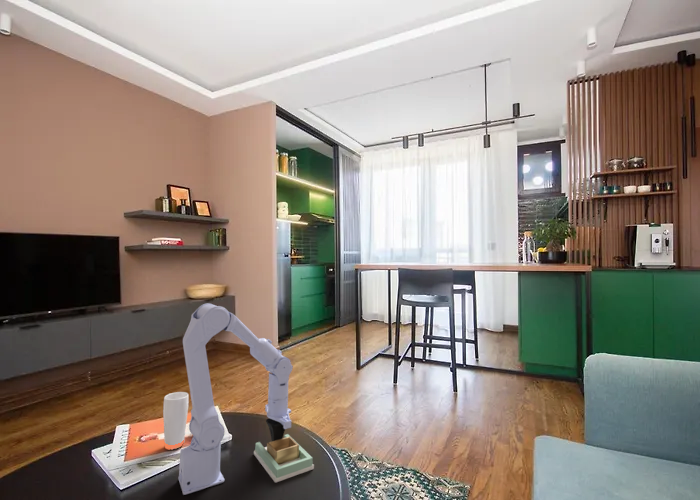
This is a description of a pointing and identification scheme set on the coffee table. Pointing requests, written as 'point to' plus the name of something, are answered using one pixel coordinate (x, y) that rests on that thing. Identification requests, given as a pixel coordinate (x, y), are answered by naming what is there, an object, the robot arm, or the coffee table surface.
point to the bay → (286, 468)
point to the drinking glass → (175, 417)
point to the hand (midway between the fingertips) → (276, 444)
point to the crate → (283, 450)
